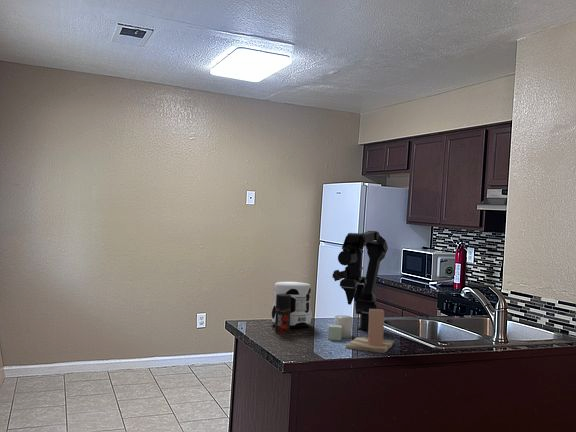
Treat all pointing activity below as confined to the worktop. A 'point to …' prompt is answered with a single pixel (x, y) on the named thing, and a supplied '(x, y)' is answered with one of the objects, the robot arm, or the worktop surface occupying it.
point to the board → (362, 344)
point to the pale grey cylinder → (344, 324)
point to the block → (334, 332)
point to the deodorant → (282, 313)
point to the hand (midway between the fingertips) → (352, 303)
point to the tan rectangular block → (376, 327)
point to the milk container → (295, 302)
